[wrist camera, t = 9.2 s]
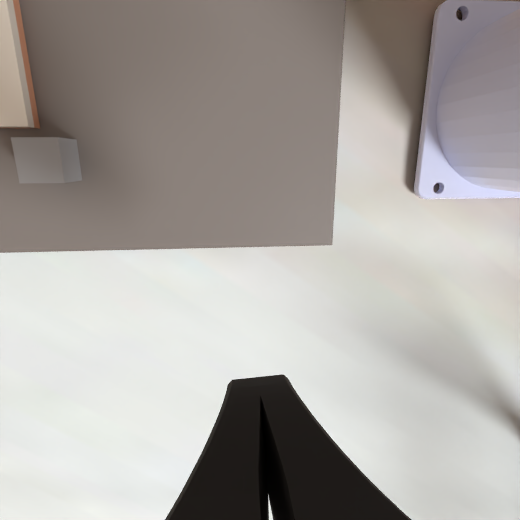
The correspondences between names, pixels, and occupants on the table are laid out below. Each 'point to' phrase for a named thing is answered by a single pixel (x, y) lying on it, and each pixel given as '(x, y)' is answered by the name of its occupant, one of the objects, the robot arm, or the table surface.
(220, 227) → the board
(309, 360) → the table surface
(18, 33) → the tile
